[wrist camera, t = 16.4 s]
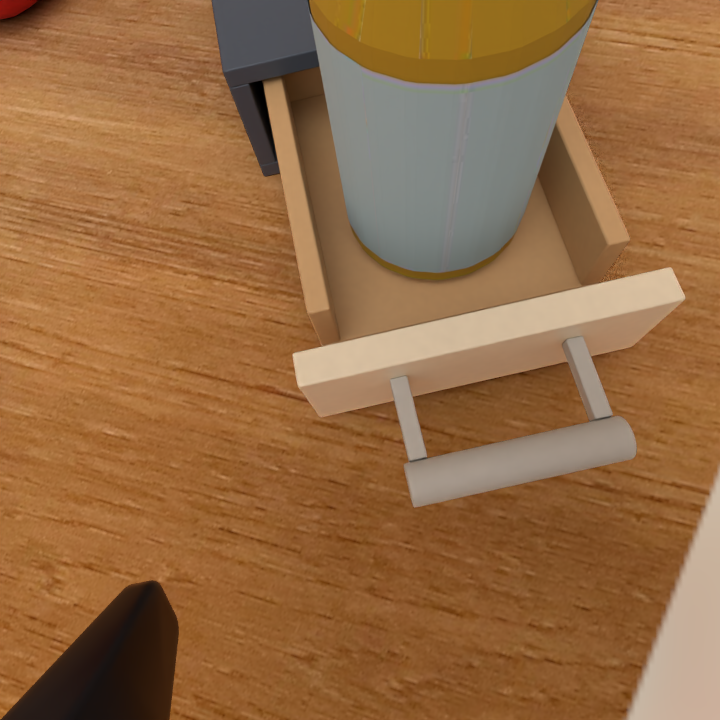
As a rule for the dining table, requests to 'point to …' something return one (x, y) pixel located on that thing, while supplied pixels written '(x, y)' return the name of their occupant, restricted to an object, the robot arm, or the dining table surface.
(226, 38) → the cabinet
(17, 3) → the apple
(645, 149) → the dining table surface
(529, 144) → the bottle
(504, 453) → the drawer
